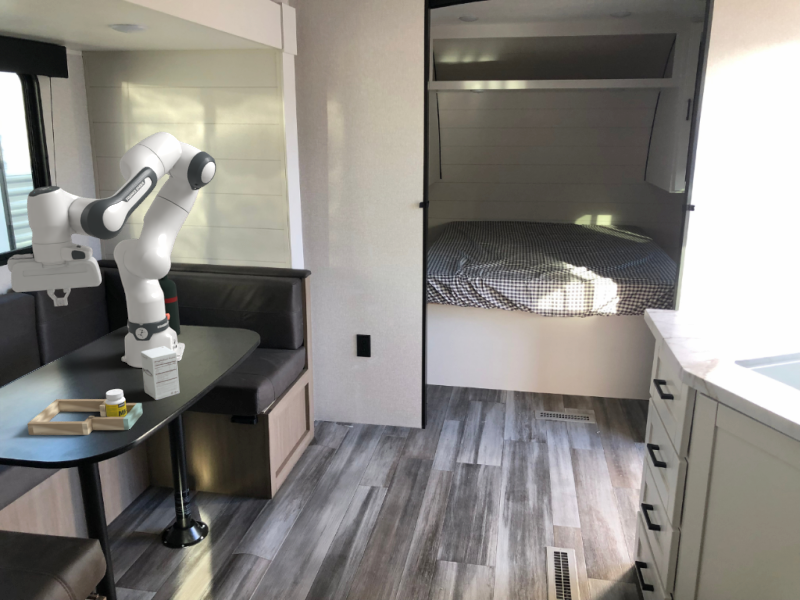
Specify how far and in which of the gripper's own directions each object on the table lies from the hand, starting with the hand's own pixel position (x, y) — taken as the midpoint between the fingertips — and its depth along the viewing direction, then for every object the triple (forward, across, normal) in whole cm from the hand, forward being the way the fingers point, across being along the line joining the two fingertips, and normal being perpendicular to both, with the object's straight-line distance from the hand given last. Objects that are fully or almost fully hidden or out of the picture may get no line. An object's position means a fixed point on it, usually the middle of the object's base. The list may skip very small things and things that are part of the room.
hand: (61, 305), depth 164 cm
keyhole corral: (+29, +4, -10) cm, 31 cm away
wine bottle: (+29, +24, +58) cm, 70 cm away
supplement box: (+29, +22, +3) cm, 37 cm away
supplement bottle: (+29, +11, -13) cm, 33 cm away
